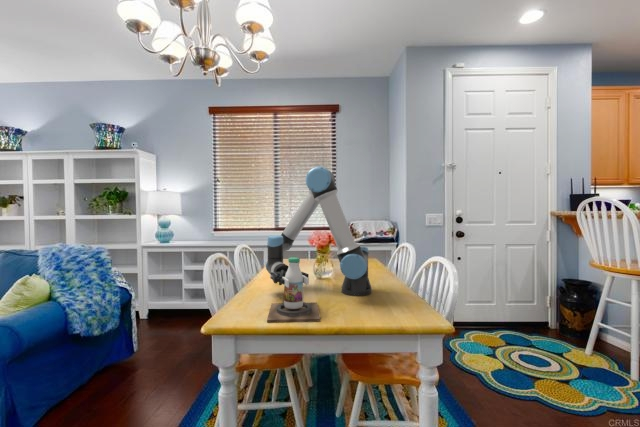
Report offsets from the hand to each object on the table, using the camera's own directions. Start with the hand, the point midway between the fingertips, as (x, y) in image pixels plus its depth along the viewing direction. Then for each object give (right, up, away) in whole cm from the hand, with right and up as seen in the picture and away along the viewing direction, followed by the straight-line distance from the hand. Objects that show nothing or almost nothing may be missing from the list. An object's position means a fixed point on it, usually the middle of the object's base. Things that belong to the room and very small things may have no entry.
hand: (298, 282), depth 124 cm
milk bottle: (-2, -11, +5) cm, 12 cm away
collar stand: (-2, -13, +5) cm, 14 cm away
